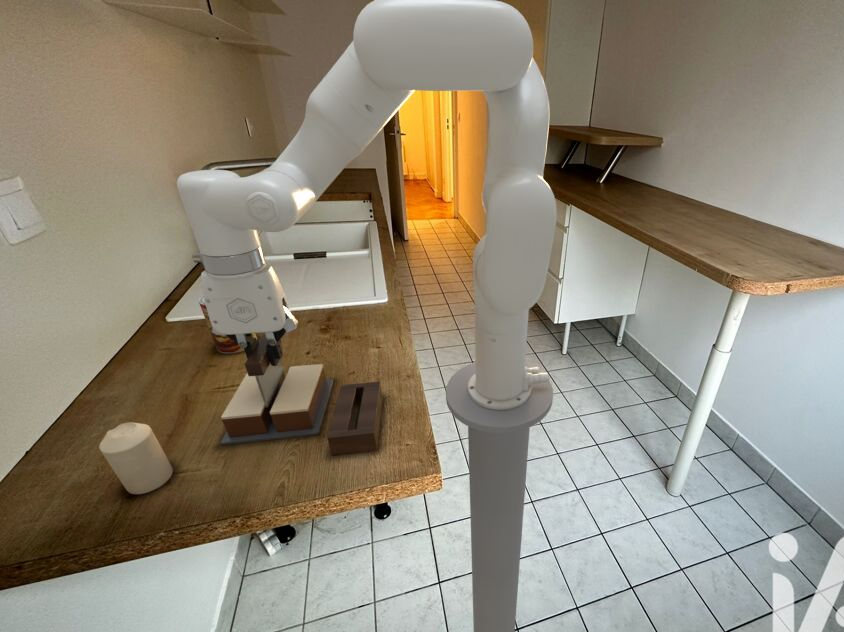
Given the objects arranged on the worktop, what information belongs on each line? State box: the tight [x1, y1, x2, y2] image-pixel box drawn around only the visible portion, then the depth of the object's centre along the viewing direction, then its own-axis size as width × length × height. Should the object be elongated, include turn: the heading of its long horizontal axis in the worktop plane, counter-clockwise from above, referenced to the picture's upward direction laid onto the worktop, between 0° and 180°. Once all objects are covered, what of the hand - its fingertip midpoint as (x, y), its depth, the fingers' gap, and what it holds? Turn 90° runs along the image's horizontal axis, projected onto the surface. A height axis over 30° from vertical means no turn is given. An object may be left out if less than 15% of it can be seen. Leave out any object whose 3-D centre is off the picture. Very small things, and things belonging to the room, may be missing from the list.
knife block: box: [327, 381, 384, 456], centre depth 72 cm, size 13×7×4 cm, turn 11°
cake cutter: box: [244, 333, 285, 407], centre depth 70 cm, size 10×2×9 cm, turn 11°
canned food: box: [198, 294, 258, 354], centre depth 90 cm, size 8×8×12 cm
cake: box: [220, 363, 335, 446], centre depth 74 cm, size 15×15×5 cm
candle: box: [98, 421, 174, 495], centre depth 59 cm, size 6×6×10 cm
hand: (267, 361), depth 70 cm, fingers closed on cake cutter, 2 cm apart
